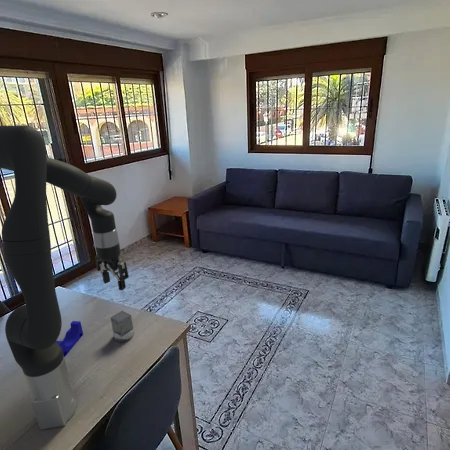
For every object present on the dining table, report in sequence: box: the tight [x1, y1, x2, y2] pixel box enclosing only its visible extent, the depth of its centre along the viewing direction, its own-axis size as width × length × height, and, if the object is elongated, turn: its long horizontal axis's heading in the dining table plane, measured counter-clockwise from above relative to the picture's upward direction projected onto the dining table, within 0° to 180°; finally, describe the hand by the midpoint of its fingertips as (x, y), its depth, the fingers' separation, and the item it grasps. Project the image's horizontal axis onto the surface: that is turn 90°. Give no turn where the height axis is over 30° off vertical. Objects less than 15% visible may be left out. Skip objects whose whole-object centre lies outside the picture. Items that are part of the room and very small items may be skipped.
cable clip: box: [56, 320, 84, 358], centre depth 111 cm, size 12×4×6 cm, turn 172°
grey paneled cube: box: [110, 310, 134, 336], centre depth 114 cm, size 5×5×6 cm
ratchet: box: [112, 328, 135, 343], centre depth 117 cm, size 14×7×6 cm, turn 10°
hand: (114, 285), depth 109 cm, fingers open, 8 cm apart
